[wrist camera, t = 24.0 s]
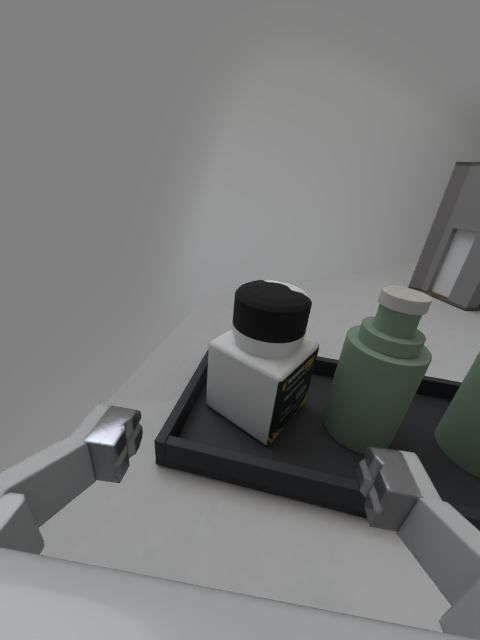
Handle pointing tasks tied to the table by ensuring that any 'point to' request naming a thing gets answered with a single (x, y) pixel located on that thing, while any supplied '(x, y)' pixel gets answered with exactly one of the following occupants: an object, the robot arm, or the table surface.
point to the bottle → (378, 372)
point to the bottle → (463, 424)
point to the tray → (309, 447)
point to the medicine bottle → (263, 359)
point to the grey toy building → (454, 243)
